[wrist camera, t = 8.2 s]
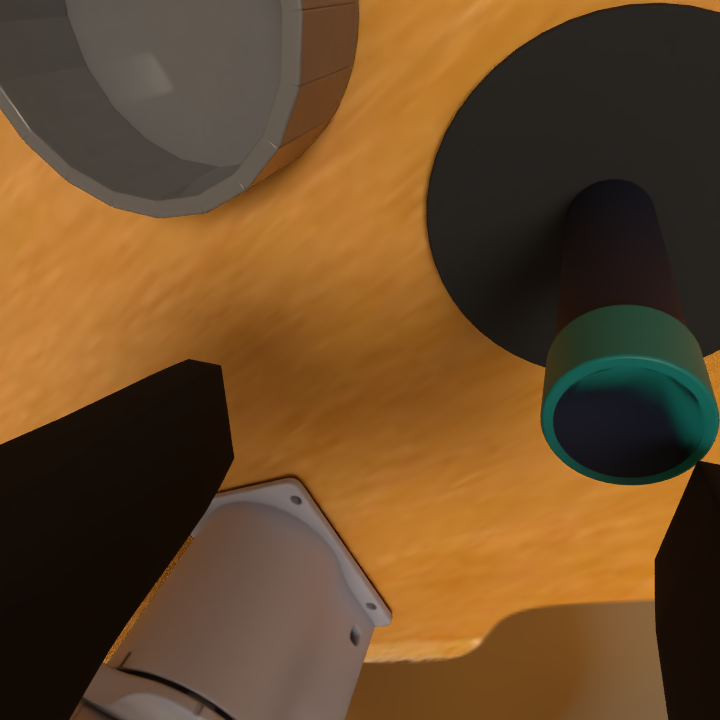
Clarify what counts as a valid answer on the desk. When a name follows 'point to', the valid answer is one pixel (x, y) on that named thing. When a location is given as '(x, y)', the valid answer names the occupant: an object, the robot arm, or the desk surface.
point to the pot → (173, 92)
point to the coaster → (581, 165)
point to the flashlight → (623, 349)
